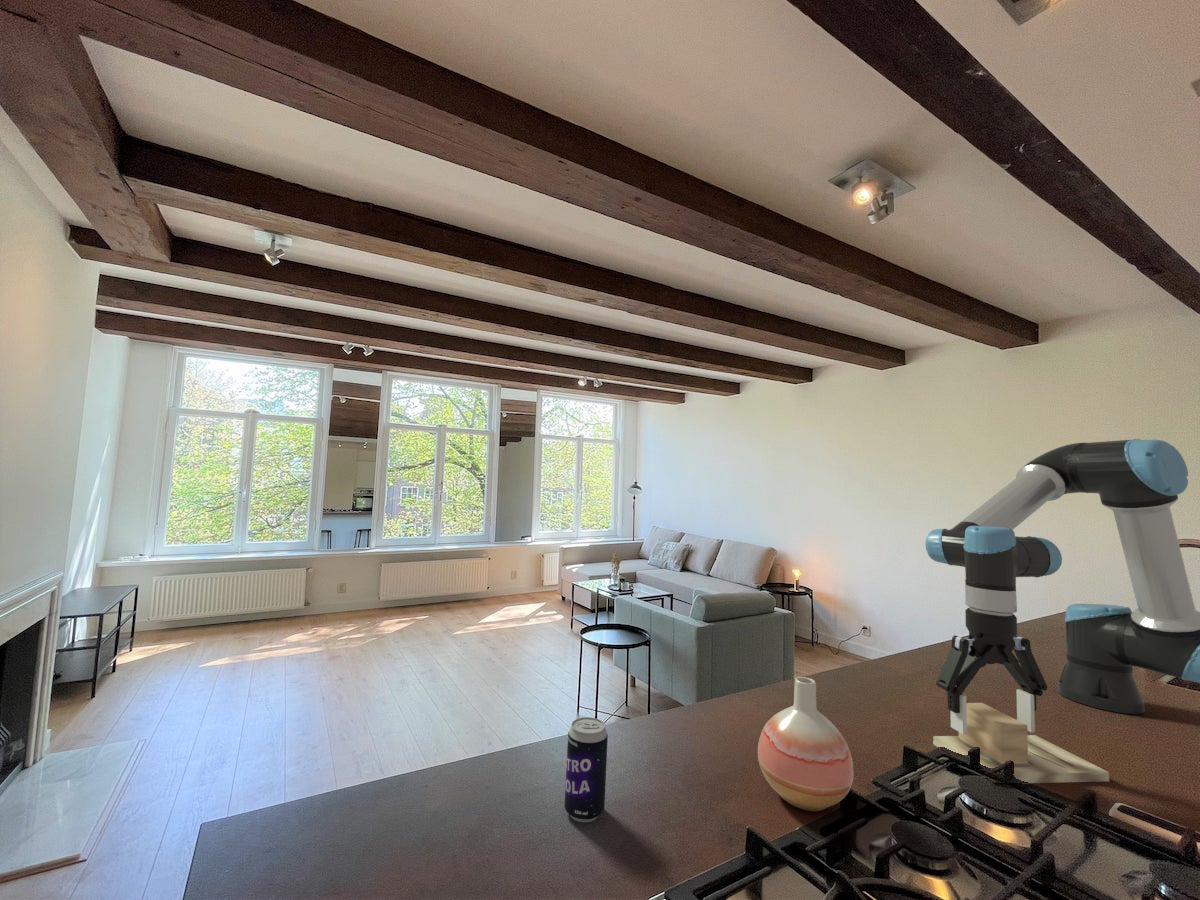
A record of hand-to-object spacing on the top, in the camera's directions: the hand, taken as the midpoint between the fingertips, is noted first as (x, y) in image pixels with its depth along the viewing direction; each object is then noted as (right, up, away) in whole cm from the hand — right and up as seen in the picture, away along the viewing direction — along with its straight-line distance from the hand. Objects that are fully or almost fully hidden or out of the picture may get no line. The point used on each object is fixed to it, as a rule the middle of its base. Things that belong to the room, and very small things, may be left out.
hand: (992, 729), depth 92 cm
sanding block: (0, -4, 0) cm, 4 cm away
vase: (-40, -3, -14) cm, 43 cm away
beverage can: (-74, -1, -20) cm, 76 cm away
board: (+4, -6, 0) cm, 7 cm away
